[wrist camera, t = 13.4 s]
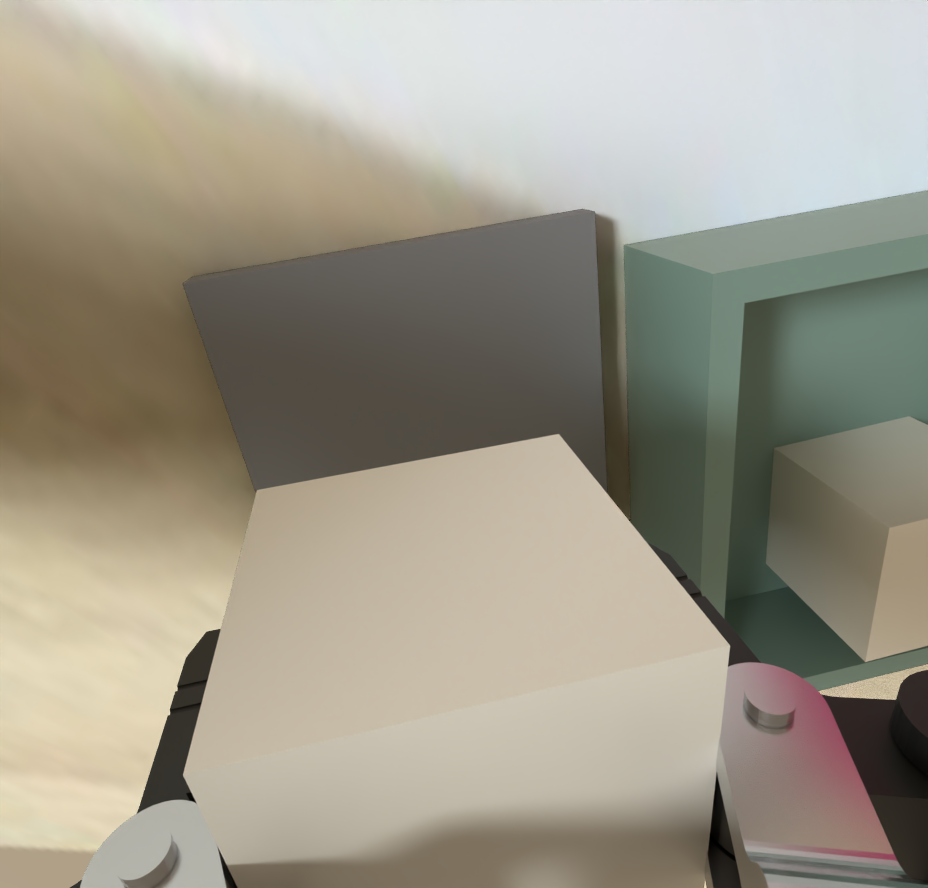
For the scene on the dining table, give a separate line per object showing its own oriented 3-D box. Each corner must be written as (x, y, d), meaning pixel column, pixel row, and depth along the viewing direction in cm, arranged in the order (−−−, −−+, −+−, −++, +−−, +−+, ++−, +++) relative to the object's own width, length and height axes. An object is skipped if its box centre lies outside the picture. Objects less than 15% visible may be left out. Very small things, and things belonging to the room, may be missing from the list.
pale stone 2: (765, 563, 23) (865, 662, 18) (774, 447, 21) (889, 528, 16) (888, 533, 23) (1014, 622, 19) (909, 416, 21) (1058, 485, 16)
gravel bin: (633, 617, 24) (695, 721, 20) (623, 245, 18) (713, 273, 13) (962, 541, 25) (1091, 623, 21) (1067, 165, 19) (1285, 167, 14)
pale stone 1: (324, 710, 12) (313, 1043, 7) (257, 489, 10) (183, 775, 5) (569, 653, 12) (699, 931, 8) (559, 433, 10) (729, 645, 6)
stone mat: (345, 726, 24) (345, 747, 23) (192, 276, 16) (182, 283, 15) (606, 664, 25) (615, 682, 24) (582, 208, 17) (594, 211, 16)
